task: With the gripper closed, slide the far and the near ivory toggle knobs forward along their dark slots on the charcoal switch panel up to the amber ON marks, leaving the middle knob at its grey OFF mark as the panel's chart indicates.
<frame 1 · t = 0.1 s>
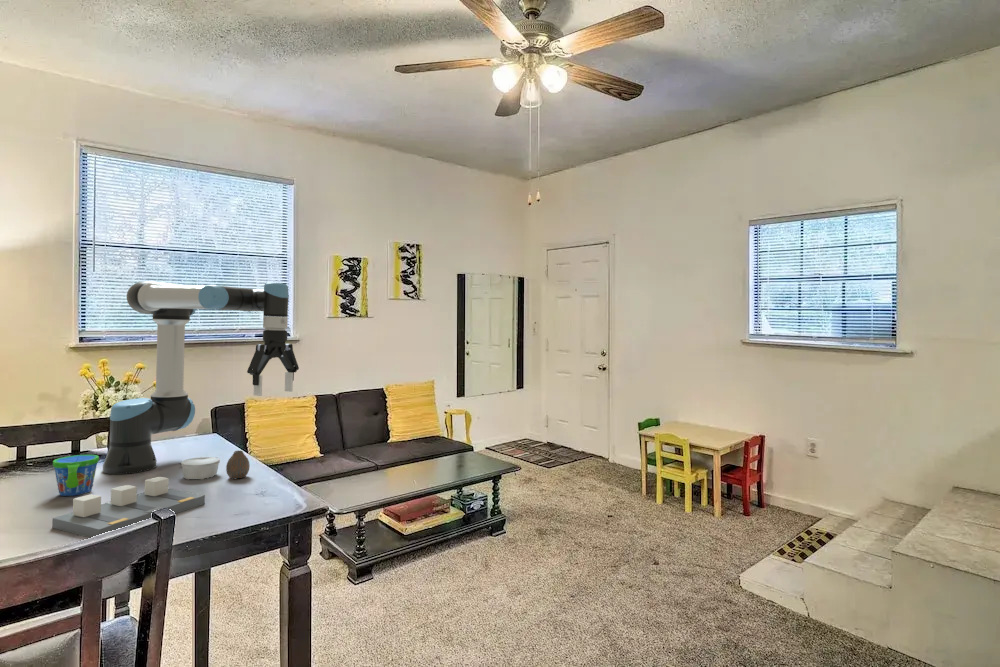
hand: (273, 393, 176), 28 cm above the table, fingers open, 13 cm apart
snack cup: (75, 493, 155), on the table
knob far: (156, 486, 149), point 5 cm above the table, slide at 0.0 cm
switch panel: (133, 514, 139), on the table
knob near: (87, 505, 132), point 5 cm above the table, slide at 0.0 cm
vase: (237, 478, 175), on the table
knob mid: (123, 495, 140), point 5 cm above the table, slide at 0.0 cm
ramekin: (200, 477, 175), on the table
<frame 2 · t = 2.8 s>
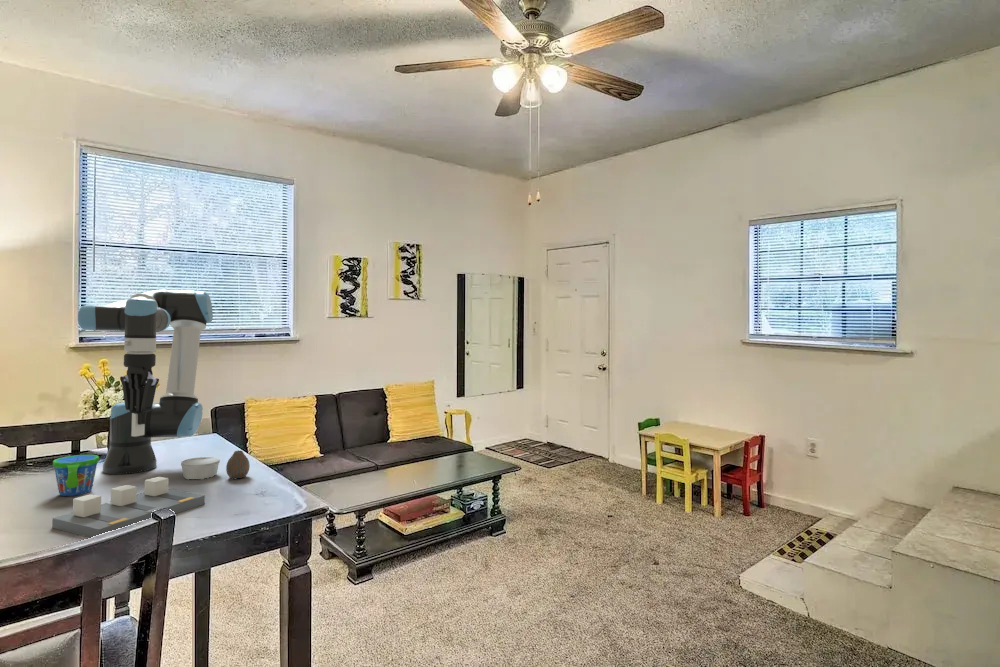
hand: (137, 435, 151), 18 cm above the table, fingers closed
nothing on the table moved.
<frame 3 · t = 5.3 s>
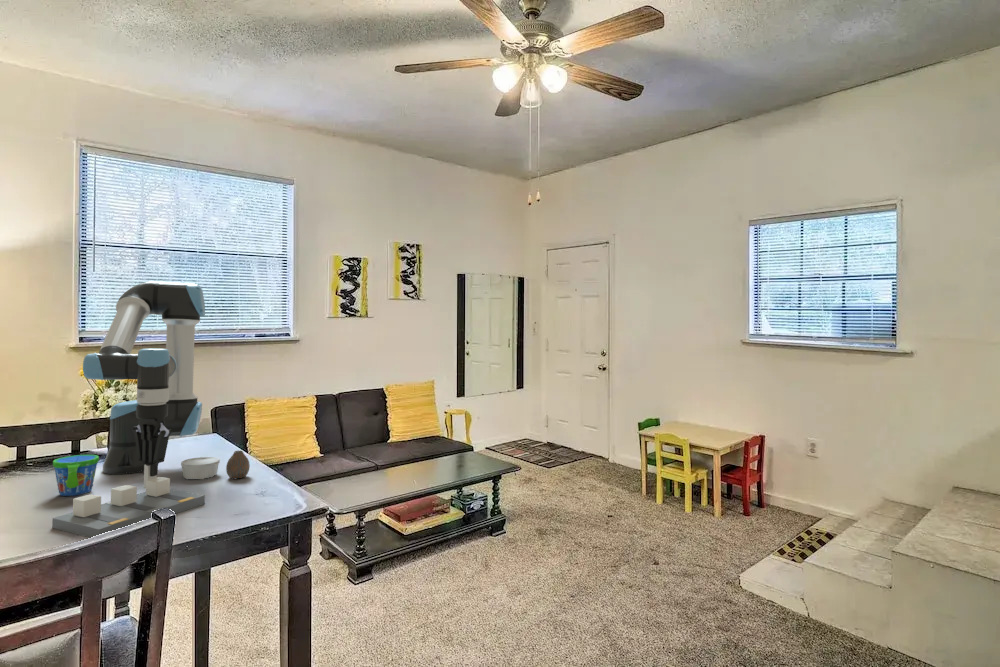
hand: (150, 487, 149), 4 cm above the table, fingers closed
knob far: (158, 486, 149), point 5 cm above the table, slide at 0.6 cm, touching gripper
everything else where it was.
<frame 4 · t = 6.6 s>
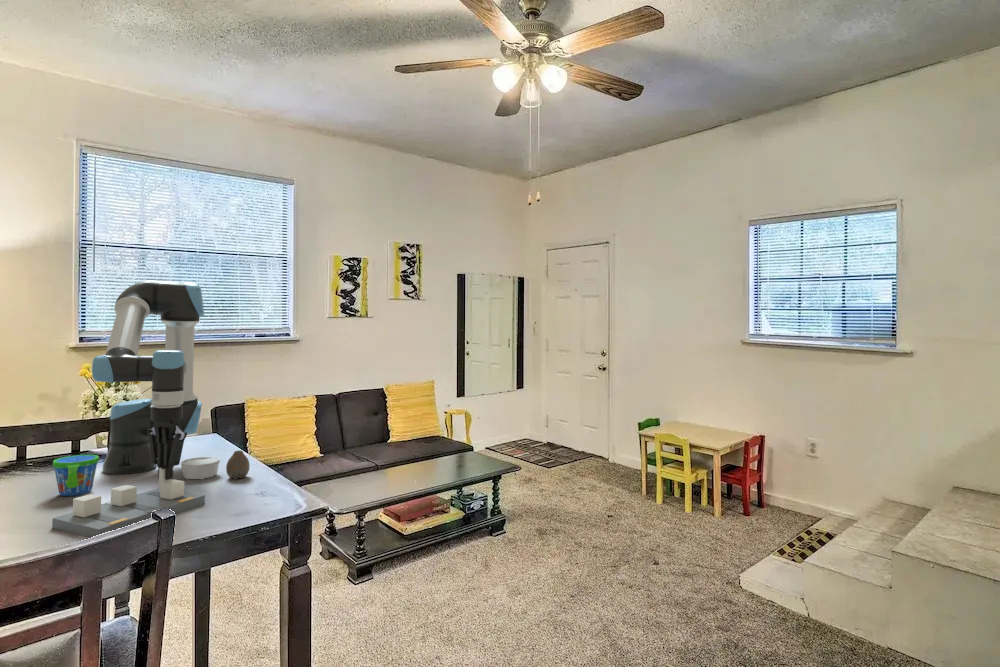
hand: (165, 490, 147), 4 cm above the table, fingers closed
knob far: (172, 489, 147), point 5 cm above the table, slide at 6.2 cm, touching gripper
everything else where it was.
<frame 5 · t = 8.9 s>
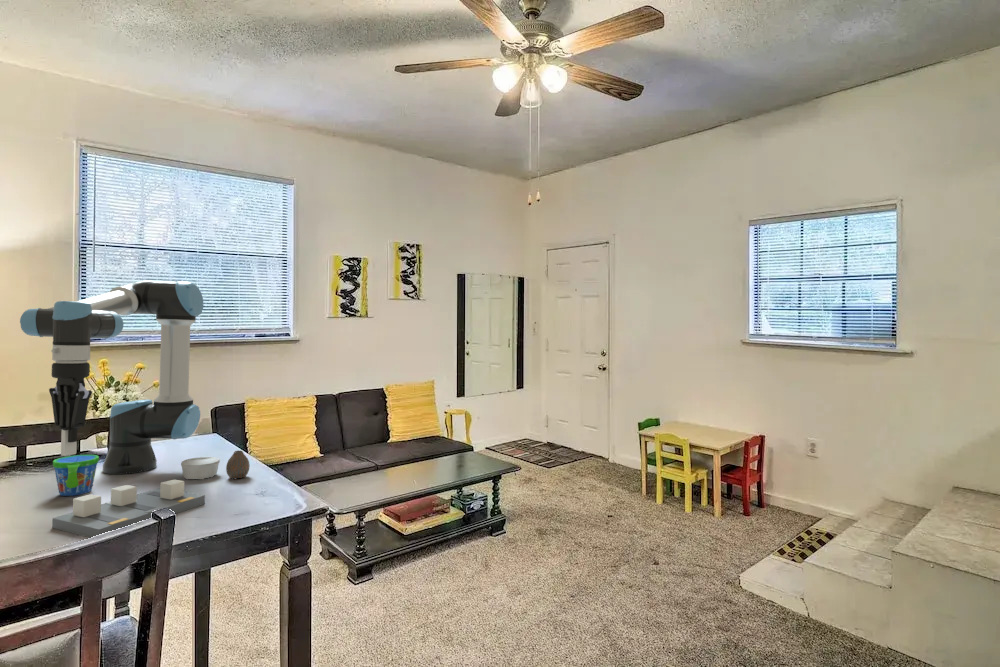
hand: (68, 454, 135), 16 cm above the table, fingers closed
knob far: (172, 489, 147), point 5 cm above the table, slide at 6.2 cm
everything else where it was.
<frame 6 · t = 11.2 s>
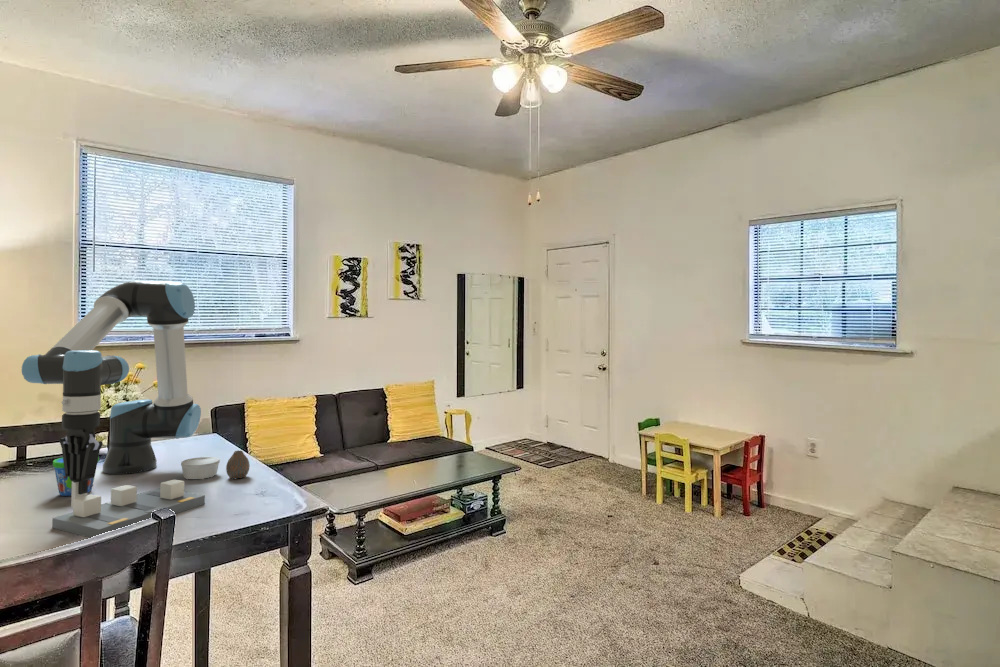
hand: (79, 506, 133), 4 cm above the table, fingers closed
knob near: (87, 505, 132), point 5 cm above the table, slide at 0.0 cm, touching gripper
everything else where it was.
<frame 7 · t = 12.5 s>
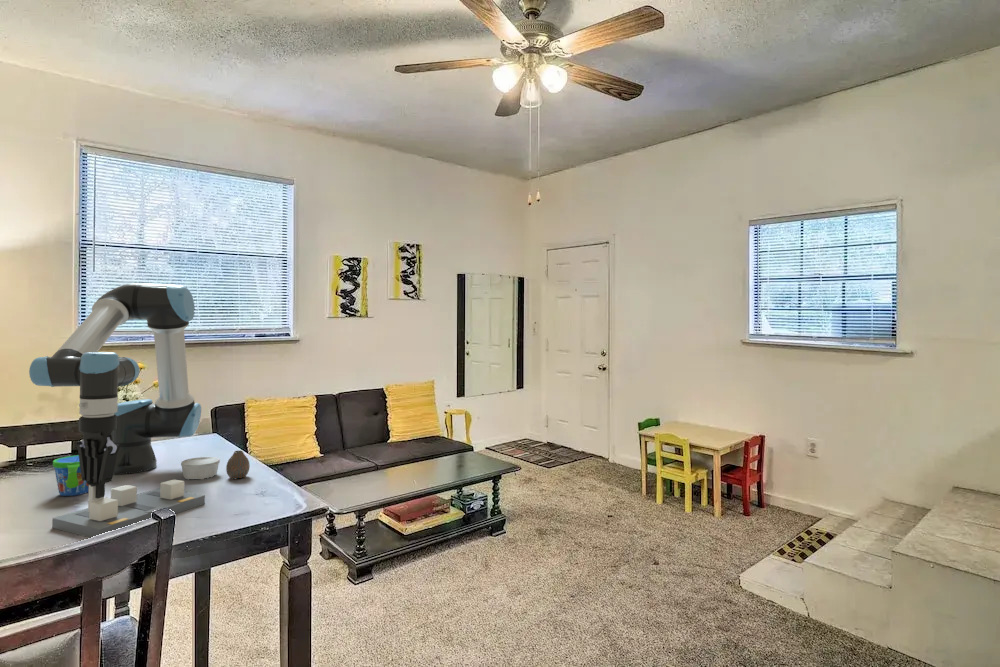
hand: (96, 510, 131), 4 cm above the table, fingers closed
knob near: (103, 509, 130), point 5 cm above the table, slide at 6.2 cm, touching gripper
everything else where it was.
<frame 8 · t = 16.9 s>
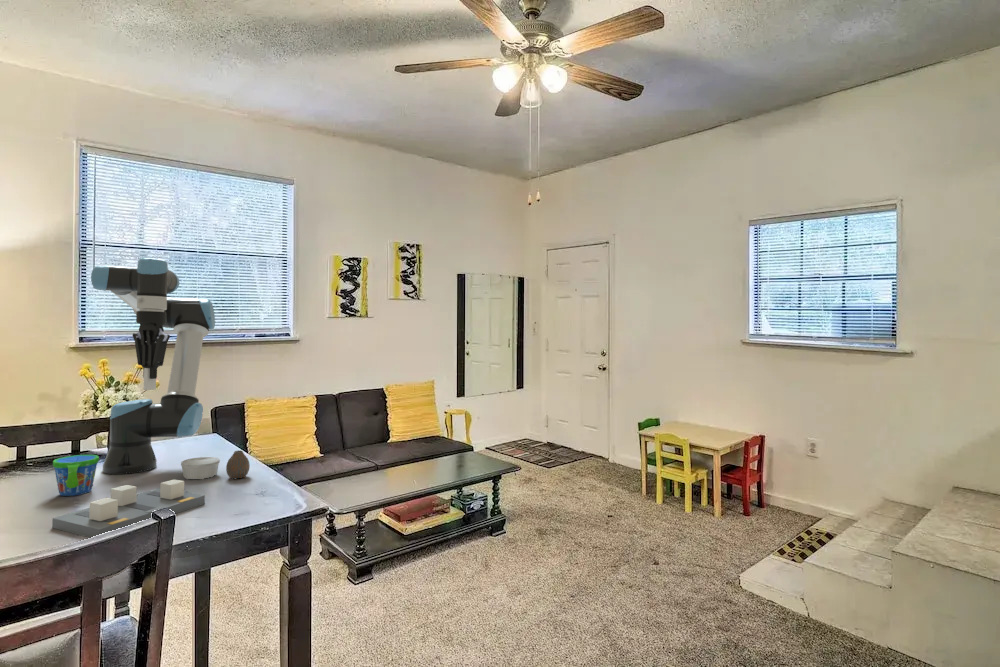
hand: (149, 389, 158), 30 cm above the table, fingers closed
knob near: (103, 509, 130), point 5 cm above the table, slide at 6.2 cm
everything else where it was.
at the end: knob far slide at 6.2 cm; knob near slide at 6.2 cm; knob mid slide at 0.0 cm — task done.
